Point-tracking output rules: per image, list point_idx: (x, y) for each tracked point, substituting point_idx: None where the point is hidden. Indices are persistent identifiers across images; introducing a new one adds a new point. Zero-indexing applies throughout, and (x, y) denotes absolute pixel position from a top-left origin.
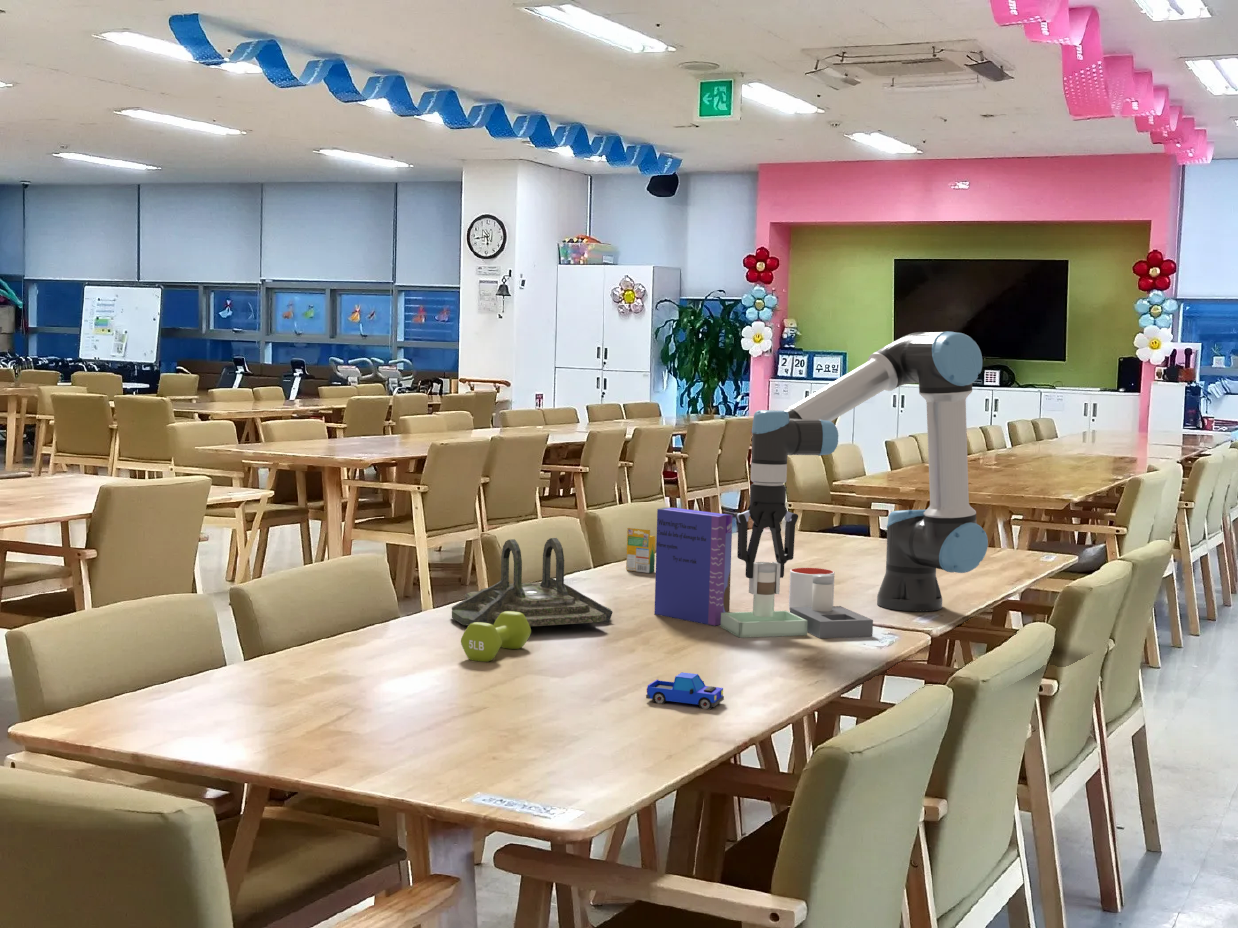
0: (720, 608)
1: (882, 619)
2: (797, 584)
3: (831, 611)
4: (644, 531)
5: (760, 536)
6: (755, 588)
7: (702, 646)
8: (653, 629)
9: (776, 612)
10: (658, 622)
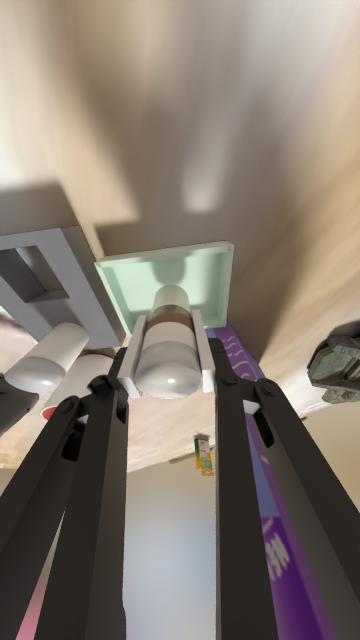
0: (222, 337)
1: (11, 348)
2: None
3: (55, 322)
4: (205, 473)
5: (223, 571)
6: (196, 317)
7: (346, 140)
8: (311, 303)
9: None
10: (278, 336)
